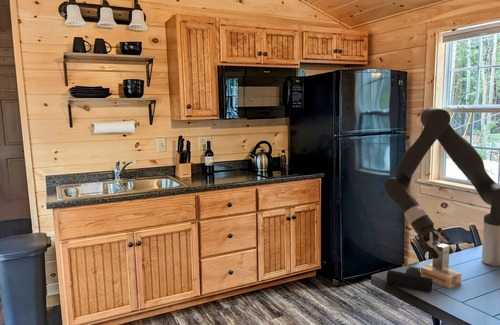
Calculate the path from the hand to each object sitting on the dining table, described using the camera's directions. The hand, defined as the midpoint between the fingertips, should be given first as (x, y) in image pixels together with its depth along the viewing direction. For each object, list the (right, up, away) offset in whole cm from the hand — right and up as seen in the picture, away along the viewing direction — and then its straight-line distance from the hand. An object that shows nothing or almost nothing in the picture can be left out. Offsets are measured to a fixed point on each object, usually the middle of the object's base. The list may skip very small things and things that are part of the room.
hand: (444, 255), depth 143 cm
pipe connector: (-12, -11, +1) cm, 17 cm away
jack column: (-1, -6, +2) cm, 6 cm away
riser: (0, -10, +2) cm, 10 cm away
